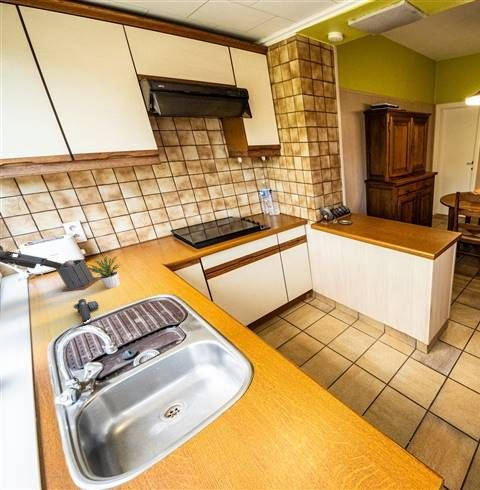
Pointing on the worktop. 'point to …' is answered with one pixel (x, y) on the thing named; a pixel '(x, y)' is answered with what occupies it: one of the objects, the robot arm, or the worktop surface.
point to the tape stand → (71, 263)
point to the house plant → (106, 272)
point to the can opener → (85, 308)
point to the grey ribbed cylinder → (75, 274)
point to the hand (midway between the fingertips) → (47, 266)
